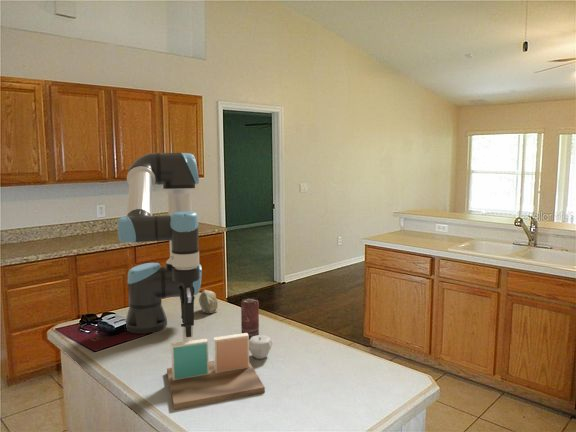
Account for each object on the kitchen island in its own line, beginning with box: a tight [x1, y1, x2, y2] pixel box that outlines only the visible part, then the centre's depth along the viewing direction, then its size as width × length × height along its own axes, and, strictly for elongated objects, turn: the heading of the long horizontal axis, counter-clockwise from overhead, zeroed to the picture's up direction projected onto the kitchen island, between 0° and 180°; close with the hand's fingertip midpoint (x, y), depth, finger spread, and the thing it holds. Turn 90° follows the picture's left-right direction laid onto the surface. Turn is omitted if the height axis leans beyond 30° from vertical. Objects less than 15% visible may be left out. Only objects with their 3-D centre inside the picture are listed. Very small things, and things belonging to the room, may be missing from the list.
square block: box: [170, 338, 209, 380], centre depth 125 cm, size 2×10×10 cm, turn 110°
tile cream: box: [213, 332, 250, 373], centre depth 129 cm, size 2×10×10 cm, turn 110°
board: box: [166, 360, 266, 410], centre depth 125 cm, size 20×24×2 cm
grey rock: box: [198, 289, 218, 314], centre depth 181 cm, size 9×8×10 cm
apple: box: [249, 334, 273, 360], centre depth 141 cm, size 8×8×7 cm
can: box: [240, 297, 260, 340], centre depth 154 cm, size 6×6×14 cm
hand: (188, 345), depth 128 cm, fingers closed
